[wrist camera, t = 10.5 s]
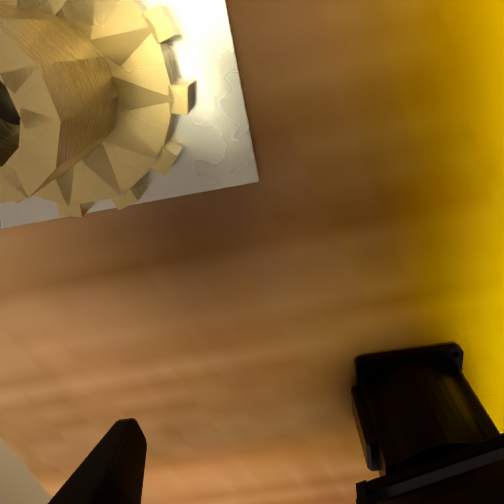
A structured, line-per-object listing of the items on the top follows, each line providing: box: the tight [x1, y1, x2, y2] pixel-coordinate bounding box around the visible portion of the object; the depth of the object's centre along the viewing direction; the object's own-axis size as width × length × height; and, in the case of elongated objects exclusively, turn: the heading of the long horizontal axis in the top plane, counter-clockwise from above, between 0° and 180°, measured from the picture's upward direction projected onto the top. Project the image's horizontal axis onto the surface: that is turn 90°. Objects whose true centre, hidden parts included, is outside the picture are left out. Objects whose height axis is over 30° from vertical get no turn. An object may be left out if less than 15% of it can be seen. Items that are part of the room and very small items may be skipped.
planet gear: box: [0, 0, 193, 217], centre depth 13 cm, size 10×10×6 cm
